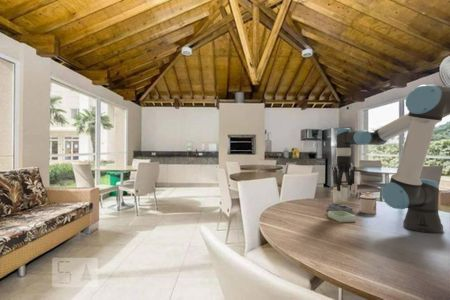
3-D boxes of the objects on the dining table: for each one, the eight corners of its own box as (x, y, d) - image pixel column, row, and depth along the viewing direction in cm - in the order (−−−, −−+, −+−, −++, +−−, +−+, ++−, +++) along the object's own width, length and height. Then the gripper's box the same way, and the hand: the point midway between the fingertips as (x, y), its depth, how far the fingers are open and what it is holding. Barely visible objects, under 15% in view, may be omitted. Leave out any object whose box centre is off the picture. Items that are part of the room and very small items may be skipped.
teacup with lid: (378, 214, 153) (378, 194, 153) (360, 213, 156) (360, 193, 156) (374, 210, 164) (374, 190, 164) (357, 209, 167) (357, 190, 167)
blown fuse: (349, 202, 153) (349, 181, 153) (342, 202, 152) (342, 181, 152) (345, 201, 157) (345, 180, 157) (338, 201, 156) (338, 180, 156)
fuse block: (353, 215, 152) (353, 207, 152) (340, 215, 151) (340, 208, 151) (339, 209, 166) (339, 202, 166) (327, 209, 165) (327, 203, 165)
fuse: (341, 208, 160) (341, 188, 160) (335, 208, 159) (335, 188, 159) (337, 206, 164) (337, 187, 164) (331, 207, 163) (331, 187, 163)
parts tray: (355, 221, 139) (355, 215, 139) (339, 222, 137) (339, 216, 137) (343, 216, 149) (343, 210, 149) (327, 216, 148) (327, 211, 148)
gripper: (353, 155, 160) (353, 195, 160) (326, 155, 157) (326, 196, 157) (361, 155, 152) (361, 197, 152) (333, 155, 150) (333, 198, 149)
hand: (344, 196), depth 155 cm, fingers closed on blown fuse, 4 cm apart
